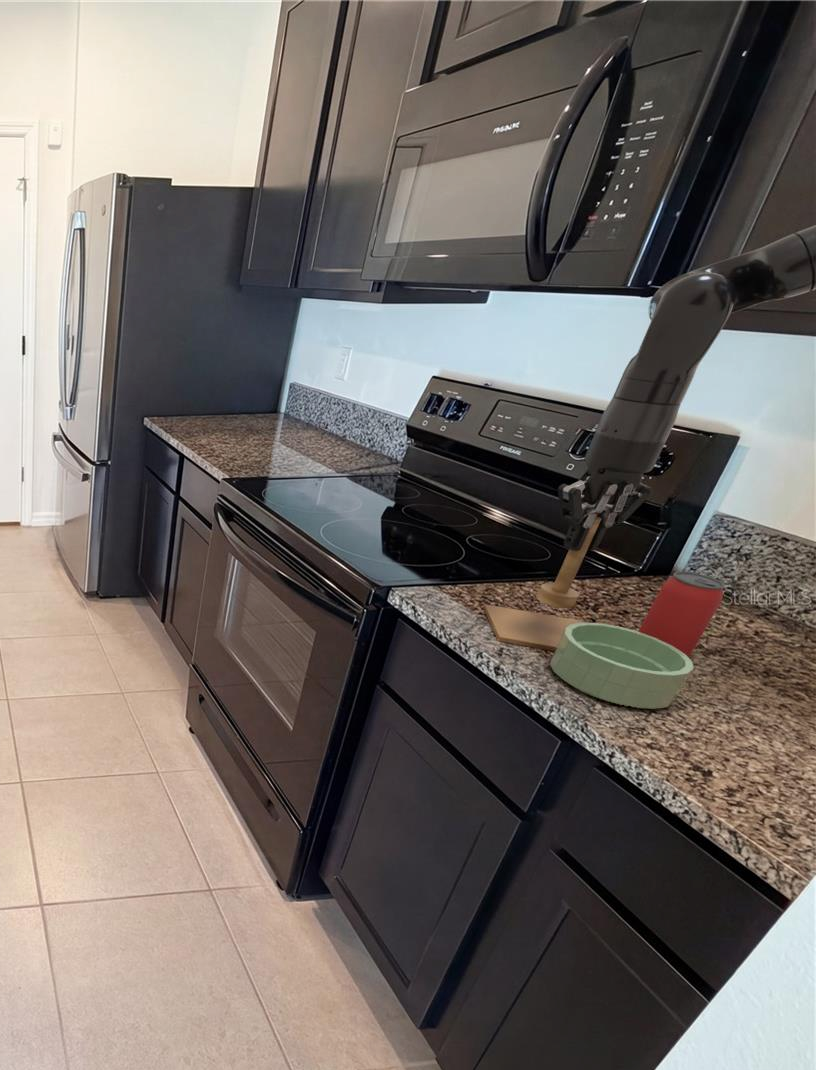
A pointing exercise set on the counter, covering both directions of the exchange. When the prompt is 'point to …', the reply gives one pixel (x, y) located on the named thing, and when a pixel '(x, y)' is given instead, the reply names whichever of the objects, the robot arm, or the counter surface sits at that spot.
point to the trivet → (527, 627)
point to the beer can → (683, 610)
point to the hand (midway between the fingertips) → (579, 548)
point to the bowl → (620, 665)
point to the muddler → (567, 576)
